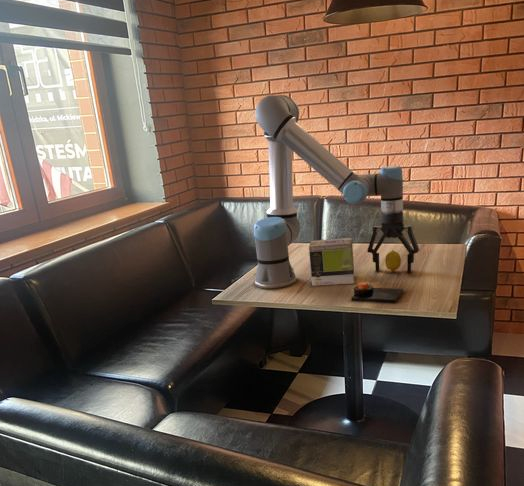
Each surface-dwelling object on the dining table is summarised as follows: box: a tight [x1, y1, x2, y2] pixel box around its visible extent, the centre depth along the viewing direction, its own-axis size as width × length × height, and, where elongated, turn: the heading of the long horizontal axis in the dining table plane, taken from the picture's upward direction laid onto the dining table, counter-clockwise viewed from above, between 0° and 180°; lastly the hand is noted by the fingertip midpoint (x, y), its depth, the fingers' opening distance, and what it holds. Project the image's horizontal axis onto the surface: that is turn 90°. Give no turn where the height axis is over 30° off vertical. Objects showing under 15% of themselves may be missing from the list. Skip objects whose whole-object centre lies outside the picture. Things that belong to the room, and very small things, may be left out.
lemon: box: [384, 249, 402, 272], centre depth 196 cm, size 6×6×8 cm
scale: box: [351, 284, 404, 304], centre depth 173 cm, size 14×11×3 cm
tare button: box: [357, 281, 369, 289], centre depth 174 cm, size 3×3×2 cm
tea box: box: [308, 237, 355, 287], centre depth 191 cm, size 15×10×15 cm
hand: (393, 271), depth 197 cm, fingers open, 11 cm apart
